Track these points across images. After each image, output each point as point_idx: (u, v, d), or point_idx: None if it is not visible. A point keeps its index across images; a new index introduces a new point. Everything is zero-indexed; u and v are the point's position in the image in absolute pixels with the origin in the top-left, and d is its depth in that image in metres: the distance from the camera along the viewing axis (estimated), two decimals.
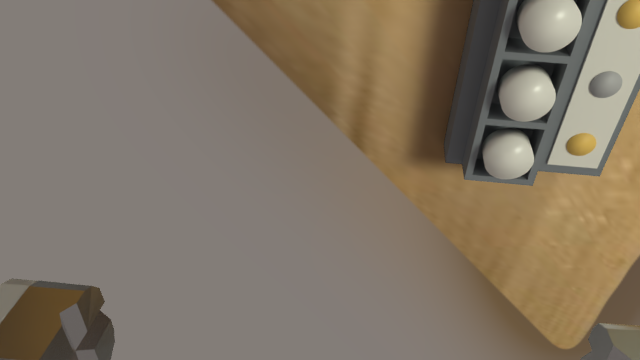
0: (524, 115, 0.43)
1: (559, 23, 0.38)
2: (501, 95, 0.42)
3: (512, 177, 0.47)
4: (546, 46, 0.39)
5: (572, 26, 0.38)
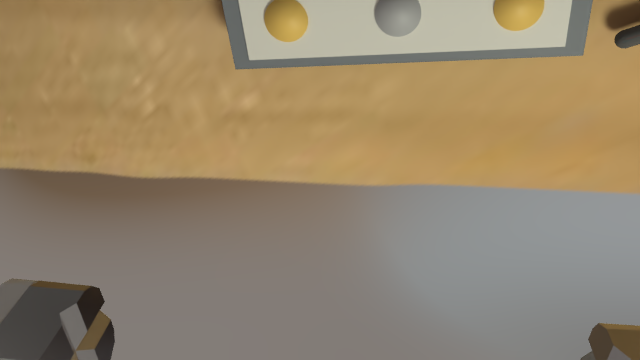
0: None
1: None
2: None
3: None
4: None
5: None
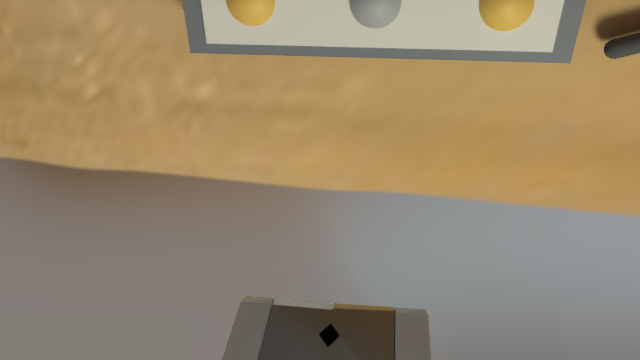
0: None
1: None
2: None
3: None
4: None
5: None
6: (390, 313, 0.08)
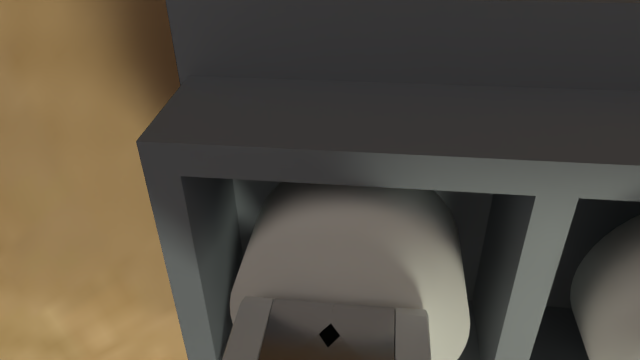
0: None
1: None
2: None
3: None
4: None
5: None
6: (390, 313, 0.08)
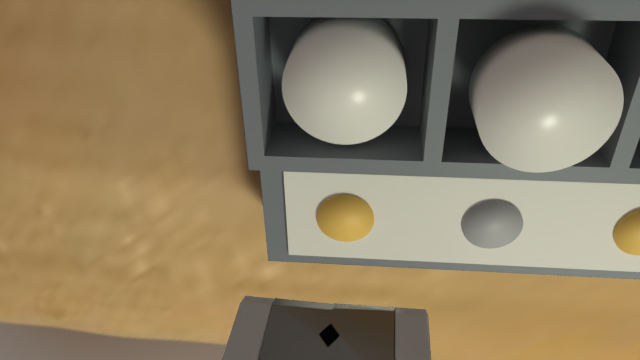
0: (498, 116, 0.16)
1: None
2: (565, 45, 0.15)
3: (291, 108, 0.18)
4: None
5: None
6: (390, 313, 0.08)
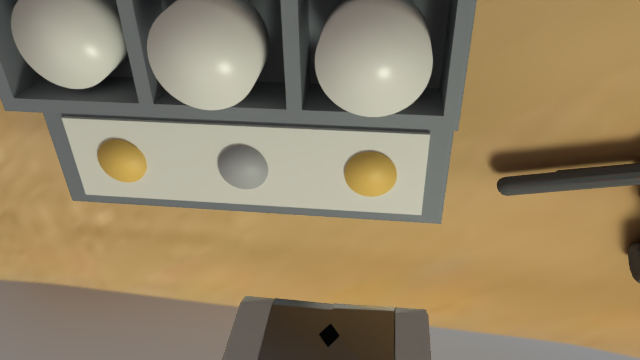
0: (164, 60, 0.19)
1: (379, 78, 0.19)
2: (198, 0, 0.18)
3: (26, 57, 0.22)
4: (328, 66, 0.19)
5: (373, 103, 0.19)
6: (390, 313, 0.08)
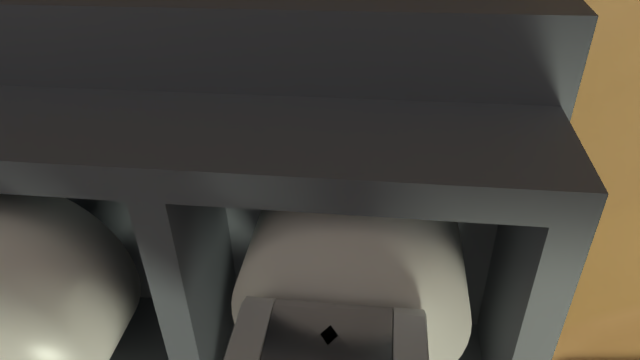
0: None
1: None
2: None
3: None
4: None
5: None
6: (388, 313, 0.08)
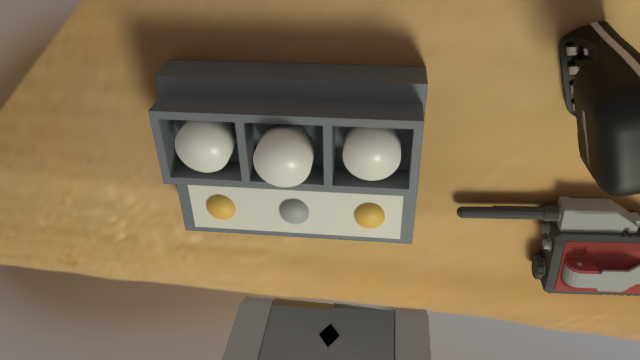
0: (261, 163, 0.37)
1: (374, 163, 0.38)
2: (282, 135, 0.36)
3: (180, 156, 0.39)
4: (349, 157, 0.38)
5: (372, 174, 0.38)
6: (390, 313, 0.08)
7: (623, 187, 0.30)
